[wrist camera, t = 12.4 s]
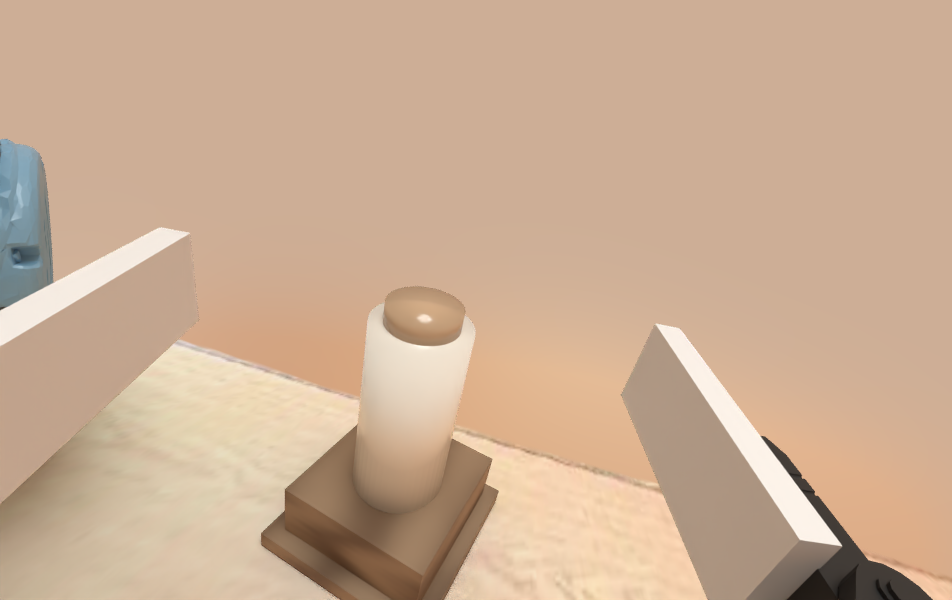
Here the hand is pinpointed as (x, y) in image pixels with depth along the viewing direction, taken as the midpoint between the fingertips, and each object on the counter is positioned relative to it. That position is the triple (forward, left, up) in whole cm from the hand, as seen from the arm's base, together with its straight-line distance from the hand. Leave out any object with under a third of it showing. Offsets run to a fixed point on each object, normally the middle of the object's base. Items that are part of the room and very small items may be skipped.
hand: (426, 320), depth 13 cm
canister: (-5, +9, -18) cm, 21 cm away
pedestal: (-5, +9, -23) cm, 25 cm away
